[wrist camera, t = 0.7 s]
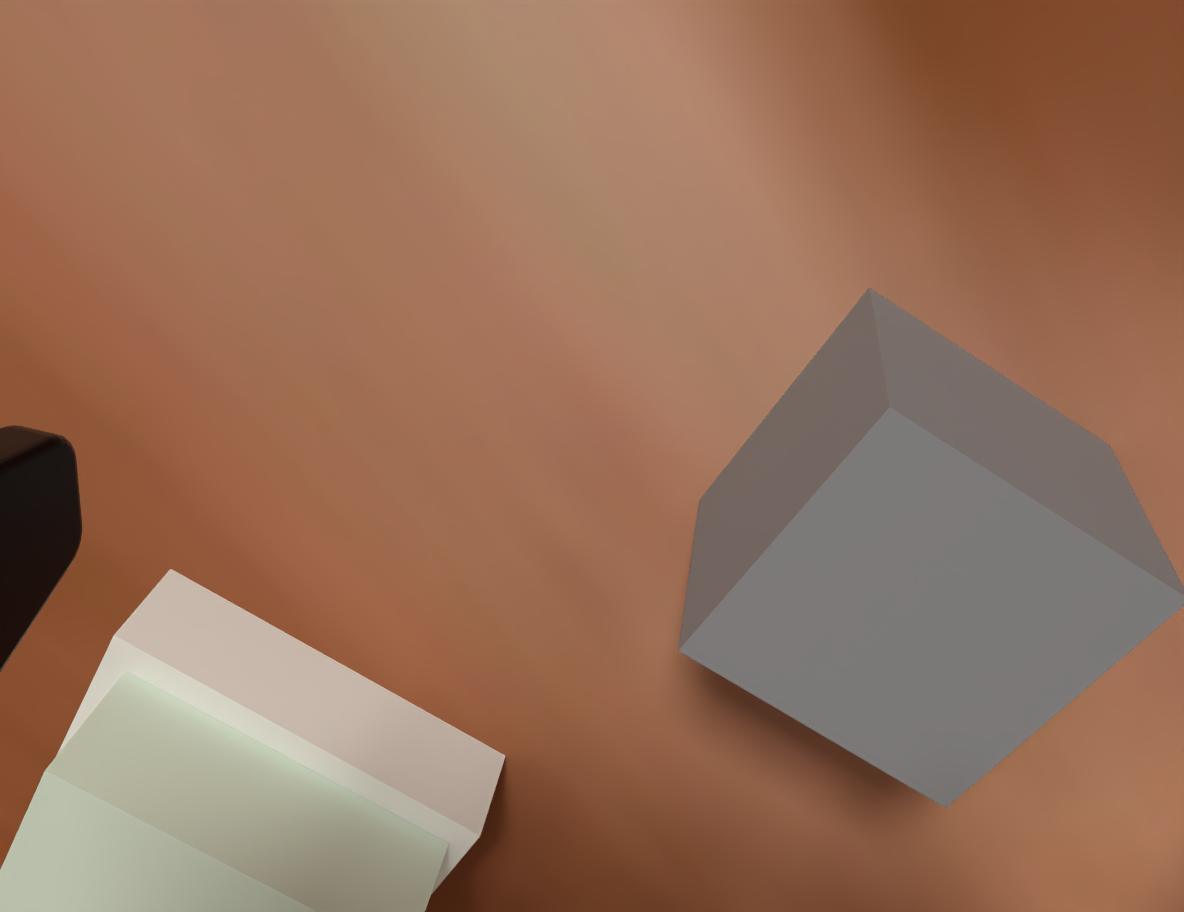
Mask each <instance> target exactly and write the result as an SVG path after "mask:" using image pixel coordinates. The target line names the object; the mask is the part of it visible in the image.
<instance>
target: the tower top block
mask: <svg viewBox="0 0 1184 912" xmlns="http://www.w3.org/2000/svg"><path fill="white" fill-rule="evenodd" d="M448 844H449V843H447V842H445V841H443V840H441V839H439V838H438V837H436V836H434V835H432V834H430V833H428V832H426V831H424V830H423V829H421V828H419V827H417V826H415V825H413V824H411V823H410V822H408V821H406V820H404V819H402V818H400V817H398V816H396V815H395V814H393V813H391V812H389V811H387V810H385V809H383V808H381V807H380V806H378V805H376V804H374V803H372V802H370V801H368V800H367V799H365V798H363V797H361V796H359V795H357V794H355V793H353V792H352V791H350V790H348V789H346V788H344V787H342V786H340V785H338V784H337V783H335V782H333V781H331V780H329V779H327V778H325V777H324V776H322V775H320V774H318V773H316V772H314V771H312V770H310V769H309V768H307V767H305V766H303V765H301V764H299V763H297V762H296V761H294V760H292V759H290V758H288V757H286V756H284V755H282V754H281V753H279V752H277V751H275V750H273V749H271V748H269V747H267V746H266V745H264V744H262V743H260V742H258V741H256V740H254V739H253V738H251V737H249V736H247V735H245V734H243V733H241V732H239V731H238V730H236V729H234V728H232V727H230V726H228V725H226V724H225V723H223V722H221V721H219V720H217V719H215V718H213V717H211V716H210V715H208V714H206V713H204V712H202V711H200V710H198V709H196V708H195V707H193V706H191V705H189V704H187V703H185V702H183V701H182V700H180V699H178V698H176V697H174V696H172V695H170V694H168V693H167V692H165V691H163V690H161V689H159V688H157V687H155V686H154V685H152V684H150V683H148V682H146V681H144V680H142V679H140V678H139V677H137V676H135V675H133V674H131V673H129V672H127V671H125V672H124V673H123V674H122V676H121V677H120V678H119V679H118V681H117V682H116V683H115V684H114V686H113V687H112V688H111V689H110V691H109V692H108V693H107V694H106V696H105V697H104V698H103V699H102V701H101V702H100V703H99V704H98V706H97V707H96V708H95V709H94V710H93V712H92V713H91V714H90V715H89V717H88V718H87V719H86V720H85V722H84V723H83V724H82V725H81V727H80V728H79V729H78V730H77V732H76V733H75V734H74V735H73V737H72V738H71V739H70V740H69V742H68V743H67V744H66V745H65V746H64V748H63V749H62V750H61V751H60V753H59V754H58V755H57V756H56V758H55V759H54V760H53V761H52V763H51V764H50V765H49V766H48V768H47V769H46V770H45V772H44V774H43V776H42V779H41V781H40V783H39V785H38V788H37V790H36V792H35V794H34V796H33V799H32V801H31V803H30V805H29V808H28V810H27V812H26V814H25V816H24V819H23V821H22V823H21V825H20V828H19V830H18V832H17V834H16V837H15V839H14V841H13V843H12V845H11V848H10V850H9V852H8V854H7V857H6V859H5V861H4V863H3V866H2V868H1V870H0V912H425V910H426V907H427V904H428V902H429V899H430V896H431V893H432V890H433V887H434V884H435V881H436V879H437V876H438V873H439V870H440V867H441V864H442V861H443V858H444V855H445V853H446V850H447V847H448Z"/></svg>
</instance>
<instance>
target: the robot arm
mask: <svg viewBox="0 0 1184 912" xmlns="http://www.w3.org/2000/svg"><path fill="white" fill-rule="evenodd" d="M81 535H82V518H81V507H80V496H79V485H78V473H77V462H76V455H75V451H74V448H73V446H72V444H71V443H70V442H69V441H68V440H67V439H66V438H65V437H63V436H61V435H57V434H53V433H49V432H44V431H40V430H36V429H32V428H28V427H23V426H7V427H3V428H0V672H1V670H2V669H3V667H4V666H5V664H6V663H7V661H8V660H9V658H10V657H11V655H12V654H13V652H14V650H15V649H16V647H17V646H18V644H19V643H20V641H21V640H22V638H23V637H24V635H25V634H26V632H27V630H28V629H29V627H30V626H31V624H32V623H33V621H34V620H35V618H36V617H37V615H38V614H39V612H40V611H41V609H42V607H43V606H44V604H45V603H46V601H47V600H48V598H49V597H50V595H51V594H52V592H53V591H54V589H55V588H56V586H57V584H58V583H59V581H60V580H61V578H62V577H63V575H64V574H65V572H66V571H67V569H68V568H69V566H70V564H71V563H72V561H73V559H74V558H75V555H76V553H77V551H78V548H79V545H80V541H81Z"/></svg>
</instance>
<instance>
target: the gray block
mask: <svg viewBox="0 0 1184 912" xmlns="http://www.w3.org/2000/svg"><path fill="white" fill-rule="evenodd" d="M1183 606H1184V587H1183V585H1182V583H1181V581H1180V579H1179V577H1178V575H1177V574H1176V572H1175V570H1174V568H1173V566H1172V564H1171V562H1170V560H1169V558H1168V556H1167V554H1166V552H1165V550H1164V548H1163V547H1162V545H1161V543H1160V541H1159V539H1158V537H1157V535H1156V533H1155V531H1154V529H1153V527H1152V525H1151V523H1150V522H1149V520H1148V518H1147V516H1146V514H1145V512H1144V510H1143V508H1142V506H1141V504H1140V502H1139V500H1138V498H1137V497H1136V495H1135V493H1134V491H1133V489H1132V487H1131V485H1130V483H1129V481H1128V479H1127V477H1126V475H1125V473H1124V472H1123V470H1122V468H1121V466H1120V464H1119V462H1118V460H1117V458H1116V456H1115V454H1114V452H1113V450H1112V448H1111V447H1110V445H1108V444H1107V443H1105V442H1104V441H1102V440H1101V439H1099V438H1098V437H1096V436H1095V435H1093V434H1092V433H1090V432H1089V431H1087V430H1085V429H1084V428H1082V427H1081V426H1079V425H1078V424H1076V423H1075V422H1073V421H1072V420H1070V419H1069V418H1067V417H1066V416H1064V415H1063V414H1061V413H1060V412H1058V411H1057V410H1055V409H1054V408H1052V407H1050V406H1049V405H1047V404H1046V403H1044V402H1043V401H1041V400H1040V399H1038V398H1037V397H1035V396H1034V395H1032V394H1031V393H1029V392H1028V391H1026V390H1025V389H1023V388H1022V387H1020V386H1019V385H1017V384H1015V383H1014V382H1012V381H1011V380H1009V379H1008V378H1006V377H1005V376H1003V375H1002V374H1000V373H999V372H997V371H996V370H994V369H993V368H991V367H990V366H988V365H987V364H985V363H984V362H982V361H980V360H979V359H977V358H976V357H974V356H973V355H971V354H970V353H968V352H967V351H965V350H964V349H962V348H961V347H959V346H958V345H956V344H955V343H953V342H952V341H950V340H949V339H947V338H945V337H944V336H942V335H941V334H939V333H938V332H936V331H935V330H933V329H932V328H930V327H929V326H927V325H926V324H924V323H923V322H921V321H920V320H918V319H917V318H915V317H914V316H912V315H910V314H909V313H907V312H906V311H904V310H903V309H901V308H900V307H898V306H897V305H895V304H894V303H892V302H891V301H889V300H888V299H886V298H885V297H883V296H882V295H880V294H879V293H877V292H875V291H874V290H872V289H871V288H869V289H868V290H867V291H866V292H865V294H864V295H863V296H862V297H861V299H860V300H859V301H858V302H857V304H856V305H855V306H854V307H853V309H852V310H851V311H850V312H849V314H848V315H847V316H846V317H845V319H844V320H843V321H842V322H841V324H840V325H839V326H838V327H837V329H836V330H835V331H834V332H833V334H832V335H831V336H830V337H829V339H828V340H827V341H826V342H825V344H824V345H823V346H822V347H821V349H820V350H819V351H818V352H817V354H816V355H815V356H814V357H813V359H812V360H811V361H810V362H809V364H808V365H807V366H806V367H805V369H804V370H803V371H802V372H801V374H800V375H799V376H798V377H797V379H796V380H795V381H794V382H793V384H792V385H791V386H790V387H789V389H788V390H787V391H786V392H785V394H784V395H783V396H782V397H781V399H780V400H779V401H778V402H777V404H776V405H775V406H774V407H773V409H772V410H771V411H770V412H769V414H768V415H767V416H766V417H765V419H764V420H763V421H762V422H761V424H760V425H759V426H758V427H757V429H756V430H755V431H754V432H753V434H752V435H751V436H750V437H749V439H748V440H747V441H746V442H745V444H744V445H743V446H742V447H741V449H740V450H739V451H738V452H737V454H736V455H735V456H734V457H733V459H732V460H731V461H730V462H729V464H728V465H727V466H726V467H725V469H724V470H723V471H722V472H721V474H720V475H719V476H718V477H717V479H716V480H715V481H714V482H713V484H712V485H711V486H710V487H709V489H708V490H707V491H706V492H705V494H704V495H703V496H702V497H701V499H700V500H699V507H698V515H697V522H696V529H695V536H694V543H693V550H692V557H691V564H690V571H689V579H688V586H687V593H686V600H685V607H684V614H683V621H682V628H681V635H680V643H679V650H678V651H680V652H681V653H683V654H685V655H686V656H688V657H690V658H692V659H693V660H695V661H697V662H698V663H700V664H702V665H703V666H705V667H707V668H709V669H710V670H712V671H714V672H715V673H717V674H719V675H720V676H722V677H724V678H726V679H727V680H729V681H731V682H732V683H734V684H736V685H737V686H739V687H741V688H743V689H744V690H746V691H748V692H749V693H751V694H753V695H754V696H756V697H758V698H760V699H761V700H763V701H765V702H766V703H768V704H770V705H771V706H773V707H775V708H777V709H778V710H780V711H782V712H783V713H785V714H787V715H788V716H790V717H792V718H794V719H795V720H797V721H799V722H800V723H802V724H804V725H805V726H807V727H809V728H811V729H812V730H814V731H816V732H817V733H819V734H821V735H822V736H824V737H826V738H828V739H829V740H831V741H833V742H834V743H836V744H838V745H839V746H841V747H843V748H845V749H846V750H848V751H850V752H851V753H853V754H855V755H856V756H858V757H860V758H862V759H863V760H865V761H867V762H868V763H870V764H872V765H873V766H875V767H877V768H879V769H880V770H882V771H884V772H885V773H887V774H889V775H890V776H892V777H894V778H896V779H897V780H899V781H901V782H902V783H904V784H906V785H907V786H909V787H911V788H913V789H914V790H916V791H918V792H919V793H921V794H923V795H924V796H926V797H928V798H930V799H931V800H933V801H935V802H936V803H938V804H940V805H941V806H943V807H945V808H946V807H948V806H949V805H950V804H951V803H952V802H953V801H955V800H956V799H957V798H958V797H959V796H960V795H962V794H963V793H964V792H965V791H966V790H968V789H969V788H970V787H971V786H972V785H973V784H975V783H976V782H977V781H978V780H979V779H980V778H982V777H983V776H984V775H985V774H986V773H988V772H989V771H990V770H991V769H992V768H993V767H995V766H996V765H997V764H998V763H999V762H1000V761H1002V760H1003V759H1004V758H1005V757H1006V756H1007V755H1009V754H1010V753H1011V752H1012V751H1013V750H1015V749H1016V748H1017V747H1018V746H1019V745H1020V744H1022V743H1023V742H1024V741H1025V740H1026V739H1027V738H1029V737H1030V736H1031V735H1032V734H1033V733H1035V732H1036V731H1037V730H1038V729H1039V728H1040V727H1042V726H1043V725H1044V724H1045V723H1046V722H1047V721H1049V720H1050V719H1051V718H1052V717H1053V716H1054V715H1056V714H1057V713H1058V712H1059V711H1060V710H1062V709H1063V708H1064V707H1065V706H1066V705H1067V704H1069V703H1070V702H1071V701H1072V700H1073V699H1074V698H1076V697H1077V696H1078V695H1079V694H1080V693H1082V692H1083V691H1084V690H1085V689H1086V688H1087V687H1089V686H1090V685H1091V684H1092V683H1093V682H1094V681H1096V680H1097V679H1098V678H1099V677H1100V676H1101V675H1103V674H1104V673H1105V672H1106V671H1107V670H1109V669H1110V668H1111V667H1112V666H1113V665H1114V664H1116V663H1117V662H1118V661H1119V660H1120V659H1121V658H1123V657H1124V656H1125V655H1126V654H1127V653H1129V652H1130V651H1131V650H1132V649H1133V648H1134V647H1136V646H1137V645H1138V644H1139V643H1140V642H1141V641H1143V640H1144V639H1145V638H1146V637H1147V636H1149V635H1150V634H1151V633H1152V632H1153V631H1154V630H1156V629H1157V628H1158V627H1159V626H1160V625H1161V624H1163V623H1164V622H1165V621H1166V620H1167V619H1168V618H1170V617H1171V616H1172V615H1173V614H1174V613H1176V612H1177V611H1178V610H1179V609H1180V608H1181V607H1183Z"/></svg>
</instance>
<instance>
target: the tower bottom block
mask: <svg viewBox="0 0 1184 912" xmlns="http://www.w3.org/2000/svg"><path fill="white" fill-rule="evenodd" d="M125 671H127V672H129V673H131V674H133V675H135V676H137V677H139V678H140V679H142V680H144V681H146V682H148V683H150V684H152V685H154V686H155V687H157V688H159V689H161V690H163V691H165V692H167V693H168V694H170V695H172V696H174V697H176V698H178V699H180V700H182V701H183V702H185V703H187V704H189V705H191V706H193V707H195V708H196V709H198V710H200V711H202V712H204V713H206V714H208V715H210V716H211V717H213V718H215V719H217V720H219V721H221V722H223V723H225V724H226V725H228V726H230V727H232V728H234V729H236V730H238V731H239V732H241V733H243V734H245V735H247V736H249V737H251V738H253V739H254V740H256V741H258V742H260V743H262V744H264V745H266V746H267V747H269V748H271V749H273V750H275V751H277V752H279V753H281V754H282V755H284V756H286V757H288V758H290V759H292V760H294V761H296V762H297V763H299V764H301V765H303V766H305V767H307V768H309V769H310V770H312V771H314V772H316V773H318V774H320V775H322V776H324V777H325V778H327V779H329V780H331V781H333V782H335V783H337V784H338V785H340V786H342V787H344V788H346V789H348V790H350V791H352V792H353V793H355V794H357V795H359V796H361V797H363V798H365V799H367V800H368V801H370V802H372V803H374V804H376V805H378V806H380V807H381V808H383V809H385V810H387V811H389V812H391V813H393V814H395V815H396V816H398V817H400V818H402V819H404V820H406V821H408V822H410V823H411V824H413V825H415V826H417V827H419V828H421V829H423V830H424V831H426V832H428V833H430V834H432V835H434V836H436V837H438V838H439V839H441V840H443V841H445V842H447V843H449V844H448V847H447V850H446V853H445V855H444V858H443V861H442V864H441V867H440V870H439V873H438V876H437V879H436V881H435V884H434V887H433V890H432V893H433V892H434V891H435V890H436V888H437V887H438V886H439V885H440V884H441V883H442V881H443V880H444V879H445V878H446V877H447V875H448V874H449V873H450V872H451V871H452V869H453V868H454V867H455V866H456V865H457V863H458V862H459V861H460V860H461V859H462V857H463V856H464V855H465V854H466V853H467V851H468V850H469V849H470V848H471V847H472V845H473V844H474V843H475V842H476V841H477V839H478V838H479V837H480V835H481V832H482V829H483V826H484V823H485V820H486V816H487V813H488V810H489V807H490V804H491V801H492V797H493V794H494V791H495V788H496V785H497V782H498V778H499V775H500V772H501V769H502V766H503V763H504V759H505V755H503V754H501V753H499V752H498V751H496V750H494V749H492V748H491V747H489V746H487V745H485V744H483V743H482V742H480V741H478V740H476V739H474V738H473V737H471V736H469V735H467V734H465V733H464V732H462V731H460V730H458V729H457V728H455V727H453V726H451V725H449V724H448V723H446V722H444V721H442V720H440V719H439V718H437V717H435V716H433V715H431V714H430V713H428V712H426V711H424V710H423V709H421V708H419V707H417V706H415V705H414V704H412V703H410V702H408V701H406V700H405V699H403V698H401V697H399V696H397V695H396V694H394V693H392V692H390V691H389V690H387V689H385V688H383V687H381V686H380V685H378V684H376V683H374V682H372V681H371V680H369V679H367V678H365V677H363V676H362V675H360V674H358V673H356V672H355V671H353V670H351V669H349V668H347V667H346V666H344V665H342V664H340V663H338V662H337V661H335V660H333V659H331V658H329V657H328V656H326V655H324V654H322V653H321V652H319V651H317V650H315V649H313V648H312V647H310V646H308V645H306V644H304V643H303V642H301V641H299V640H297V639H295V638H294V637H292V636H290V635H288V634H287V633H285V632H283V631H281V630H279V629H278V628H276V627H274V626H272V625H270V624H269V623H267V622H265V621H263V620H261V619H260V618H258V617H256V616H254V615H252V614H251V613H249V612H247V611H245V610H244V609H242V608H240V607H238V606H236V605H235V604H233V603H231V602H229V601H227V600H226V599H224V598H222V597H220V596H218V595H217V594H215V593H213V592H211V591H210V590H208V589H206V588H204V587H202V586H201V585H199V584H197V583H195V582H193V581H192V580H190V579H188V578H186V577H184V576H183V575H181V574H179V573H177V572H176V571H174V570H172V569H170V570H169V571H168V573H167V574H166V575H165V576H164V577H163V578H162V580H161V581H160V582H159V583H158V584H157V585H156V587H155V588H154V589H153V590H152V591H151V592H150V594H149V595H148V596H147V597H146V598H145V599H144V601H143V602H142V603H141V604H140V605H139V606H138V608H137V609H136V610H135V611H134V612H133V614H132V615H131V616H130V617H129V618H128V619H127V621H126V622H125V623H124V624H123V625H122V626H121V628H120V629H119V630H118V631H117V632H116V633H115V635H114V636H113V638H112V640H111V642H110V645H109V647H108V649H107V651H106V653H105V655H104V657H103V659H102V661H101V664H100V666H99V668H98V670H97V672H96V674H95V676H94V678H93V680H92V682H91V685H90V687H89V689H88V691H87V693H86V695H85V697H84V699H83V701H82V704H81V706H80V708H79V710H78V712H77V714H76V716H75V718H74V720H73V722H72V725H71V727H70V729H69V731H68V733H67V735H66V737H65V739H64V741H63V743H62V746H61V748H60V750H59V752H58V754H59V753H60V751H61V750H62V749H63V748H64V746H65V745H66V744H67V743H68V742H69V740H70V739H71V738H72V737H73V735H74V734H75V733H76V732H77V730H78V729H79V728H80V727H81V725H82V724H83V723H84V722H85V720H86V719H87V718H88V717H89V715H90V714H91V713H92V712H93V710H94V709H95V708H96V707H97V706H98V704H99V703H100V702H101V701H102V699H103V698H104V697H105V696H106V694H107V693H108V692H109V691H110V689H111V688H112V687H113V686H114V684H115V683H116V682H117V681H118V679H119V678H120V677H121V676H122V674H123V673H124V672H125ZM58 754H57V755H58ZM432 893H431V894H432Z"/></svg>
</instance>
